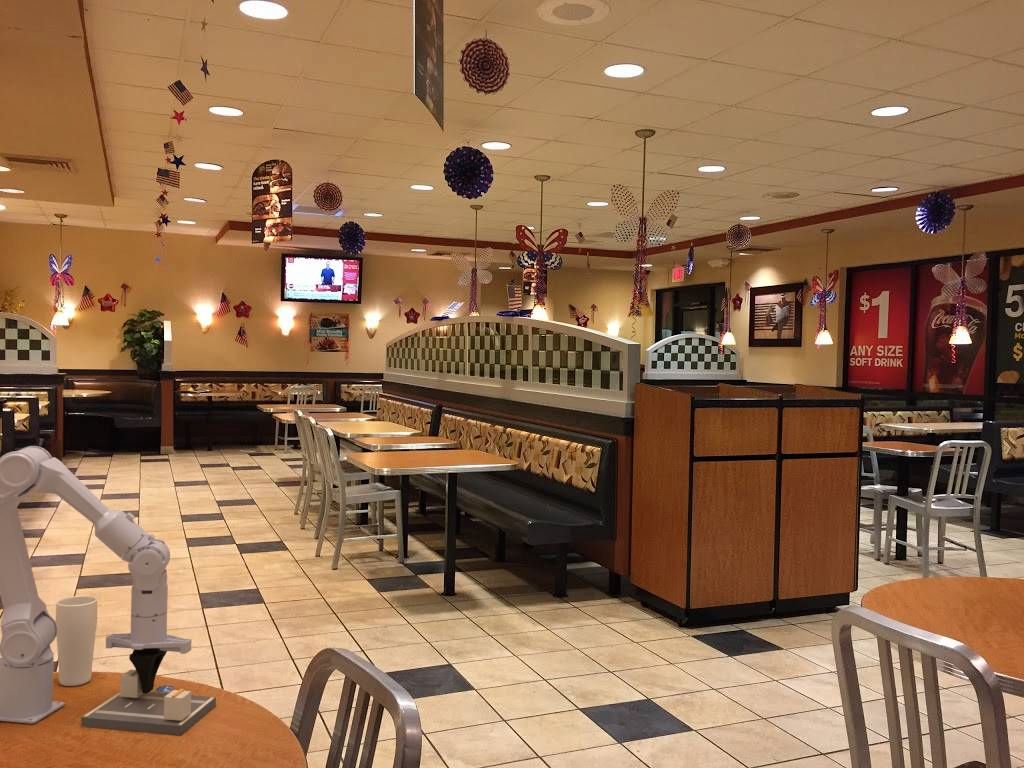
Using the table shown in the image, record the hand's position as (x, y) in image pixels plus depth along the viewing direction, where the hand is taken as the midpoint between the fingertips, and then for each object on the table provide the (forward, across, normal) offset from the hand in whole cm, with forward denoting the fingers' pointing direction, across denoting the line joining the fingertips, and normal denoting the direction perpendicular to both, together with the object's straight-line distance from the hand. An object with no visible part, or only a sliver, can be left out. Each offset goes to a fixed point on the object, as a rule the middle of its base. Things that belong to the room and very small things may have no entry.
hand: (147, 691), depth 146 cm
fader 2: (+1, +9, -7) cm, 12 cm away
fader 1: (+1, -3, 0) cm, 3 cm away
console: (+3, +3, -4) cm, 5 cm away
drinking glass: (+3, -18, +8) cm, 20 cm away
